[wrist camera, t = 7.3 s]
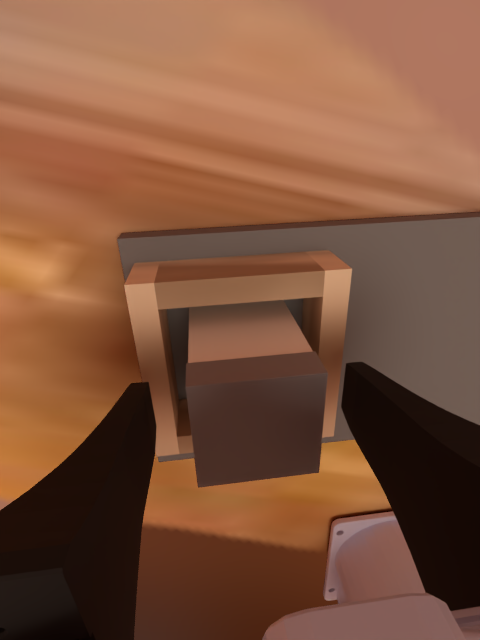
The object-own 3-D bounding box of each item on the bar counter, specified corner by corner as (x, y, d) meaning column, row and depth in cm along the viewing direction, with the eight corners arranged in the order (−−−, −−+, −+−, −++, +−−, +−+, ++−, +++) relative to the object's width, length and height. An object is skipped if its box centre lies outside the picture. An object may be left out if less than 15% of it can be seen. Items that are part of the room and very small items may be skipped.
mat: (522, 407, 22) (536, 418, 21) (160, 447, 20) (158, 462, 19) (604, 204, 17) (627, 208, 16) (121, 233, 15) (117, 238, 14)
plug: (280, 372, 18) (318, 472, 12) (196, 380, 17) (198, 487, 12) (282, 294, 16) (328, 372, 10) (187, 301, 15) (185, 386, 10)
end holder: (316, 401, 19) (333, 436, 16) (160, 417, 18) (156, 456, 16) (328, 249, 15) (352, 268, 13) (134, 262, 14) (124, 284, 12)
